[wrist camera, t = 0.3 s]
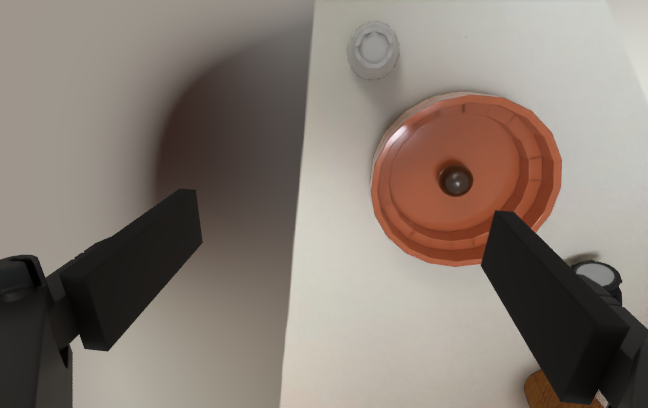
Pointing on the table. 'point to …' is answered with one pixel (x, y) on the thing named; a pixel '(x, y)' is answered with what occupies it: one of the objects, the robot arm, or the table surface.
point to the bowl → (479, 157)
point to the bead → (455, 180)
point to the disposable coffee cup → (548, 394)
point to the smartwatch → (601, 276)
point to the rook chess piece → (373, 50)
